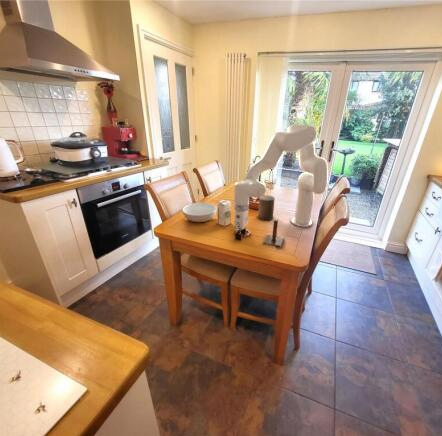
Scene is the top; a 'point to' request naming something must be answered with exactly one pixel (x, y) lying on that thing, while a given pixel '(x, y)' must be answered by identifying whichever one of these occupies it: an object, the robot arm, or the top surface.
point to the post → (274, 237)
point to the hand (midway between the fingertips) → (240, 236)
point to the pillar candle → (266, 207)
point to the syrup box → (224, 212)
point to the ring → (245, 235)
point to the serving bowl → (199, 211)
